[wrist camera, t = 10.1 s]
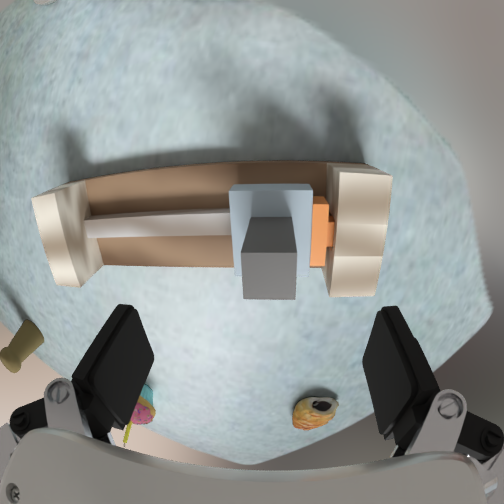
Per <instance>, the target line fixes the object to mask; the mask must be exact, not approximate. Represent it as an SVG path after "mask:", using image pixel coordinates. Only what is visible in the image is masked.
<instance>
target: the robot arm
mask: <svg viewBox="0 0 504 504" xmlns="http://www.w3.org/2000/svg"><path fill="white" fill-rule="evenodd" d="M55 1H57V0H34V2H35V3H36V4H39V5H48V4H51V3H53V2H55ZM153 362H154V353H153V351H152V348H151V346H150V343H149V341H148V338H147V336H146V333H145V330H144V328H143V325H142V322H141V320H140V317H139V314H138V311H137V310H136V309H134V307H133V306H132V305H125V304H119V305H117V307H116V308H115V309H114V311H113V312H112V314H111V315H110V317H109V318H108V320H107V321H106V323H105V324H104V326H103V327H102V329H101V330H100V332H99V333H98V335H97V336H96V338H95V339H94V341H93V342H92V344H91V345H90V347H89V348H88V350H87V352H86V353H85V355H84V356H83V358H82V360H81V361H80V363H79V365H78V366H77V368H76V369H75V371H74V373H73V374H72V378H73V379H72V381H70V380H68V379H66V378H57V379H55V380H53V381H52V382H50V383H49V384H48V386H47V387H46V389H45V392H44V398H42V399H39V400H37V401H34V402H32V403H29V404H27V405H24V406H22V407H19V408H17V409H16V410H15V411H14V412H13V413H12V415H11V418H10V424H8V423H6V424H4V425H3V426H2V427H1V428H0V504H504V435H503V432H502V430H501V429H500V427H498V426H497V425H496V424H493V423H491V422H489V421H487V420H485V419H483V418H481V417H478V416H476V415H474V414H472V413H470V412H468V411H467V404H466V401H465V399H464V397H463V396H462V395H461V394H460V393H458V392H457V391H455V390H451V389H449V390H443V391H440V389H439V386H438V384H437V381H436V379H435V377H434V375H433V372H432V370H431V368H430V366H429V364H428V361H427V359H426V357H425V355H424V353H423V351H422V349H421V347H420V345H419V343H418V341H417V339H416V338H414V337H413V335H412V333H411V331H410V329H409V327H408V325H407V323H406V321H405V319H404V317H403V315H402V313H401V312H400V310H399V308H398V307H397V306H386V307H382V309H381V311H378V312H377V314H376V318H375V321H374V325H373V328H372V331H371V334H370V338H369V341H368V344H367V347H366V350H365V353H364V356H363V360H362V363H363V368H364V372H365V376H366V379H367V383H368V387H369V391H370V395H371V399H372V403H373V407H374V412H375V416H376V420H377V425H378V429H379V433H380V434H383V435H384V439H385V440H389V439H393V438H394V439H395V443H396V445H397V446H396V447H395V449H394V451H393V452H392V454H391V456H390V457H389V459H384V460H380V461H374V462H369V463H363V464H356V465H349V466H343V467H334V468H324V469H314V470H313V469H312V470H293V471H258V470H238V469H227V468H216V467H209V466H200V465H195V464H188V463H182V462H177V461H172V460H167V459H163V458H158V457H153V456H150V455H146V454H142V453H138V452H135V451H131V450H128V449H124V448H121V447H118V446H116V445H115V443H114V440H113V438H112V435H111V433H110V430H111V428H112V427H114V428H117V429H121V430H123V429H124V427H125V425H127V424H129V422H130V419H131V417H132V414H133V412H134V409H135V406H136V404H137V401H138V399H139V396H140V394H141V391H142V389H143V386H144V384H145V381H146V379H147V376H148V374H149V372H150V369H151V367H152V364H153Z"/></svg>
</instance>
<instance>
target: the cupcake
mask: <svg viewBox="0 0 504 504" xmlns="http://www.w3.org/2000/svg"><path fill="white" fill-rule="evenodd" d="M155 412H156V411H155V409H154V407H153V392H152V390H151V389H150V388H149V387H148V386H147V385H145V384H144V386H143V389H142V391H141V394H140V396H139V399H138V401H137V404H136V406H135V409H134V412H133V414H132V417H131V419H130V422H129V424H128V425H127V428H126V432H125V436H124V440H123V442H124V447H125V443H127V440H128V436H129V432H130V428H131V425H132V423H133V424H143V425H144V424H148V423H149V422H151V421H153V420H152V419H153V418H154V416H155Z"/></svg>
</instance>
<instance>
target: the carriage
mask: <svg viewBox="0 0 504 504" xmlns="http://www.w3.org/2000/svg"><path fill="white" fill-rule="evenodd" d="M229 204H230V218H231V232H232V246H233V259H234V271H235V276H242V283H243V298H244V299H269V300H295V295H296V277H309V269H310V253H311V234H312V208H313V190H312V188H311V186H310V184H234V185H233V186H232V187H231V189H230V190H229Z"/></svg>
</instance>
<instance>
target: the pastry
mask: <svg viewBox="0 0 504 504" xmlns="http://www.w3.org/2000/svg"><path fill="white" fill-rule="evenodd" d="M338 406H339V404H338V402H337V401H336V400H335V399H332V398H329V397H319V398H318V397H308V398H305V399H302V400H301V401H299V402H298V403H297V405H296V406H295V409H294V412H293V418H292V420H293V425H294V427H295V428H299V429H303V430H311V429H313V428H317V427H320V426H323V425H325V424H327V423H328V421H329V420H331V419H332V418H333V417H334V416H335V412H336V409H337V407H338Z"/></svg>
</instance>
